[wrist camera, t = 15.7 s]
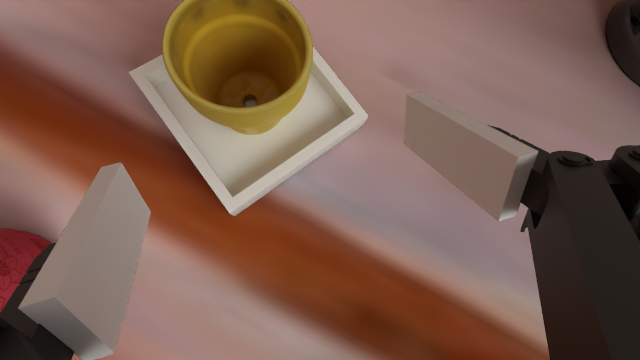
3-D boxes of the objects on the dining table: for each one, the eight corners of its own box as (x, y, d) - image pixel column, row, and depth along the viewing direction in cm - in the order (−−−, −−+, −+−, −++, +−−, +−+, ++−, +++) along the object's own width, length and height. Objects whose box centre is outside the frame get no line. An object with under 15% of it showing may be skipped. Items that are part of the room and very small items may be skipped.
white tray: (273, 17, 34) (273, -5, 31) (360, 127, 32) (368, 116, 29) (143, 88, 30) (128, 72, 27) (234, 216, 29) (229, 213, 26)
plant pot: (260, 175, 29) (250, 143, 19) (175, 111, 29) (125, 48, 20) (323, 99, 31) (341, 38, 22) (245, 41, 32) (229, -46, 22)
